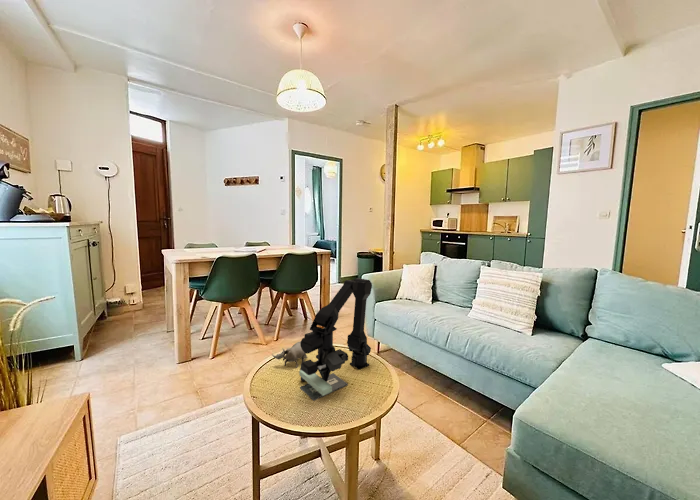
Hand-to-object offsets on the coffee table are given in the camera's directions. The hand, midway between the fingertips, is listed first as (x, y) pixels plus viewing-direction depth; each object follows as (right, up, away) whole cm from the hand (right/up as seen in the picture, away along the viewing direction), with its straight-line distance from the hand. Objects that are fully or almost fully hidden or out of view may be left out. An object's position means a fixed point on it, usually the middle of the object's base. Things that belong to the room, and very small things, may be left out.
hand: (325, 381), depth 113 cm
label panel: (-2, -2, +3) cm, 4 cm away
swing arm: (-4, 0, -1) cm, 4 cm away
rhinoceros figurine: (-16, -1, +18) cm, 24 cm away
